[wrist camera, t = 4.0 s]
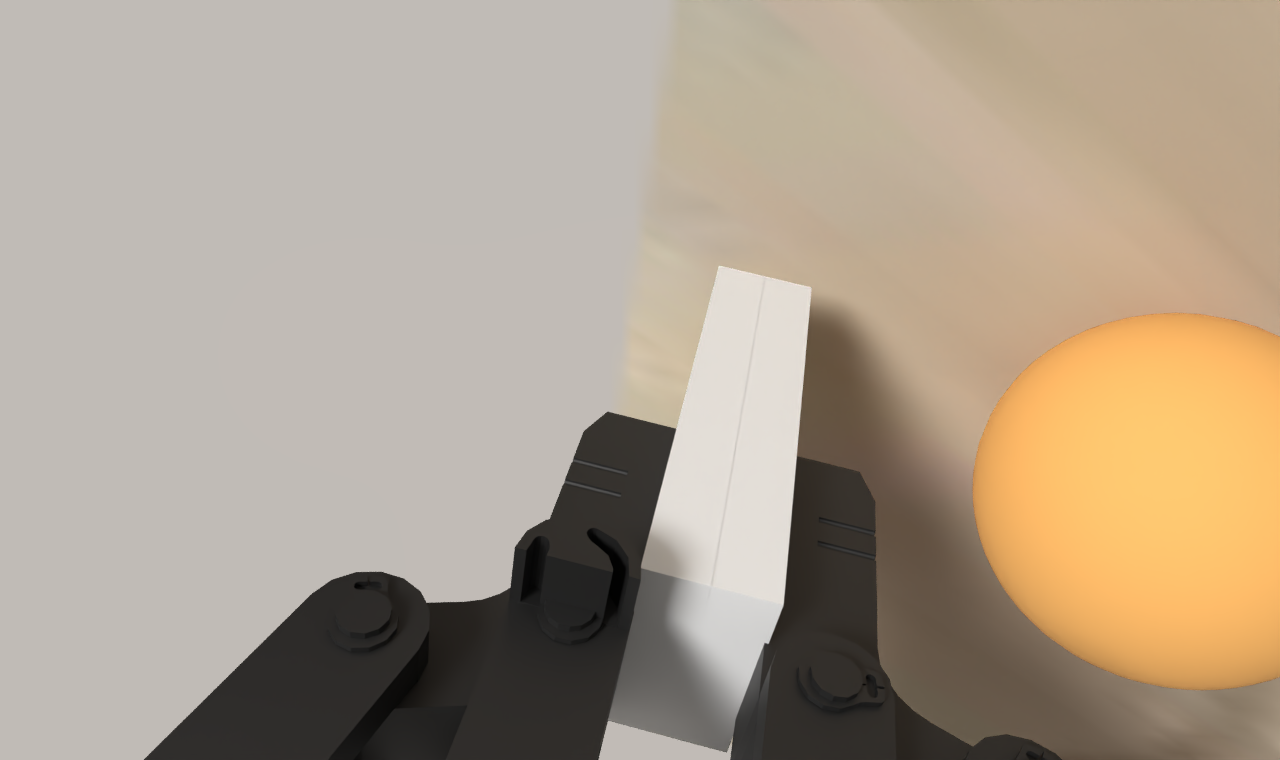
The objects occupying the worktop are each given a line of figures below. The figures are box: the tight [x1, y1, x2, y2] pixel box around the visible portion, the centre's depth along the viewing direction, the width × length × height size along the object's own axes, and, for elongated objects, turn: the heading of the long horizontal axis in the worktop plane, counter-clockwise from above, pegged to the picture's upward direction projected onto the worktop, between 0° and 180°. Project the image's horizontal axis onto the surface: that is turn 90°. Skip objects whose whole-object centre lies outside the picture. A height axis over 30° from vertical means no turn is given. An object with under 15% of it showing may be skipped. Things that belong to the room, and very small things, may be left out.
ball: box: [973, 313, 1280, 690], centre depth 14 cm, size 6×6×6 cm
